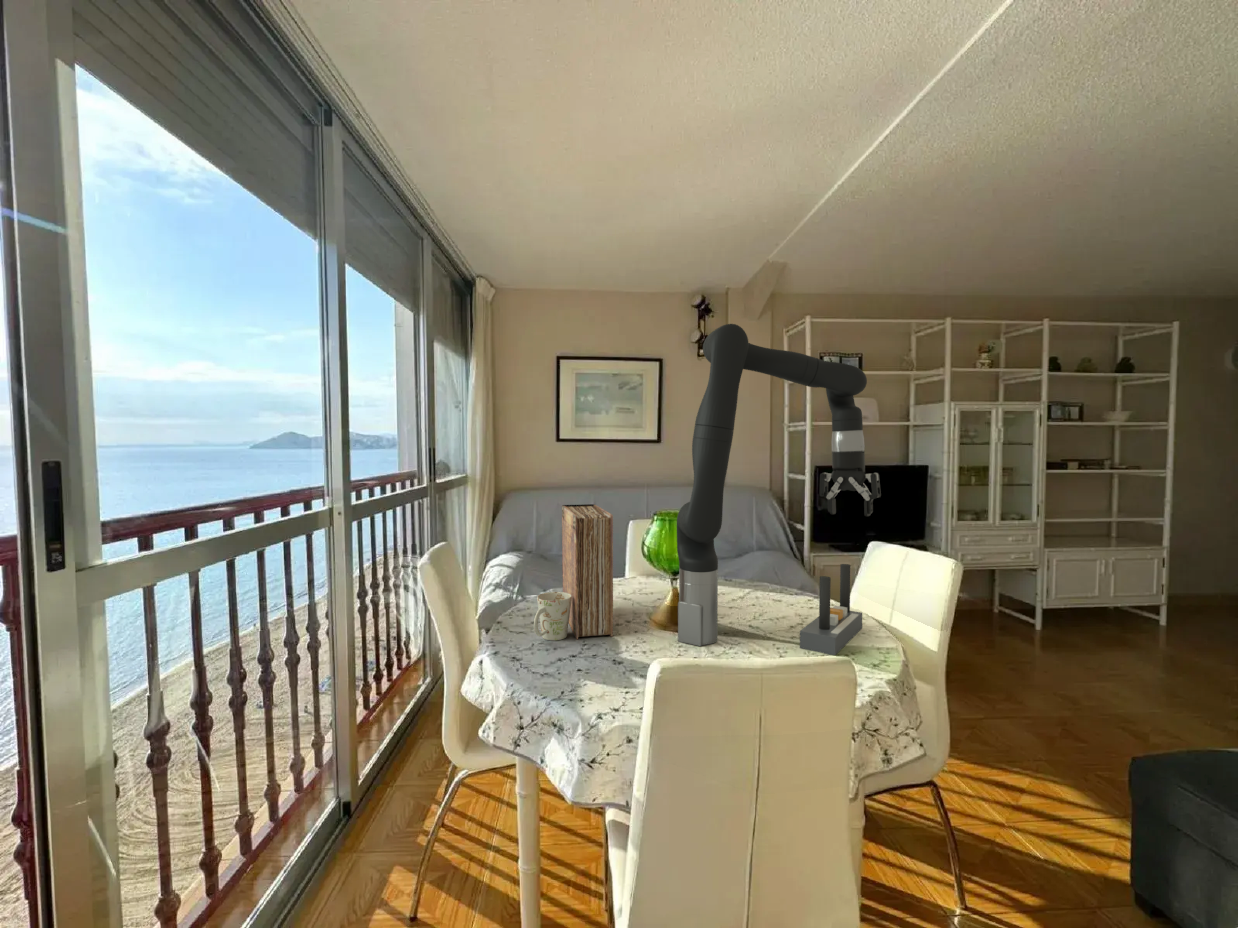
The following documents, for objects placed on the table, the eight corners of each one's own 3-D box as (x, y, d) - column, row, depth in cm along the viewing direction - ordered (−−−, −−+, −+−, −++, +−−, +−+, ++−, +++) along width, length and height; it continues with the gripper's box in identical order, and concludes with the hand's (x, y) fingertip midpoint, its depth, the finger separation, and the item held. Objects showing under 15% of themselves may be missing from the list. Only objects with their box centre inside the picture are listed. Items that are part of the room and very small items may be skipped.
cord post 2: (848, 613, 151) (849, 566, 151) (838, 611, 153) (839, 565, 152) (850, 610, 153) (851, 564, 153) (841, 609, 154) (841, 563, 154)
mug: (577, 633, 148) (577, 594, 147) (551, 650, 136) (551, 607, 136) (549, 629, 151) (548, 590, 151) (520, 644, 140) (520, 602, 139)
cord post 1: (828, 630, 137) (828, 579, 137) (817, 628, 139) (818, 577, 138) (831, 627, 139) (831, 577, 139) (820, 626, 141) (821, 575, 140)
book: (613, 637, 145) (613, 515, 144) (575, 640, 143) (575, 516, 142) (594, 608, 170) (594, 503, 168) (562, 610, 168) (561, 504, 166)
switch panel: (835, 655, 133) (835, 628, 132) (799, 648, 137) (799, 622, 137) (862, 628, 152) (862, 604, 151) (830, 622, 156) (830, 599, 156)
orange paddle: (839, 620, 144) (840, 612, 144) (827, 618, 146) (827, 610, 146) (842, 618, 146) (842, 610, 146) (830, 615, 148) (830, 607, 148)
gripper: (813, 450, 148) (815, 515, 149) (872, 449, 138) (874, 518, 139) (826, 449, 154) (828, 511, 154) (883, 447, 144) (885, 514, 145)
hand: (850, 514), depth 147 cm, fingers open, 8 cm apart
